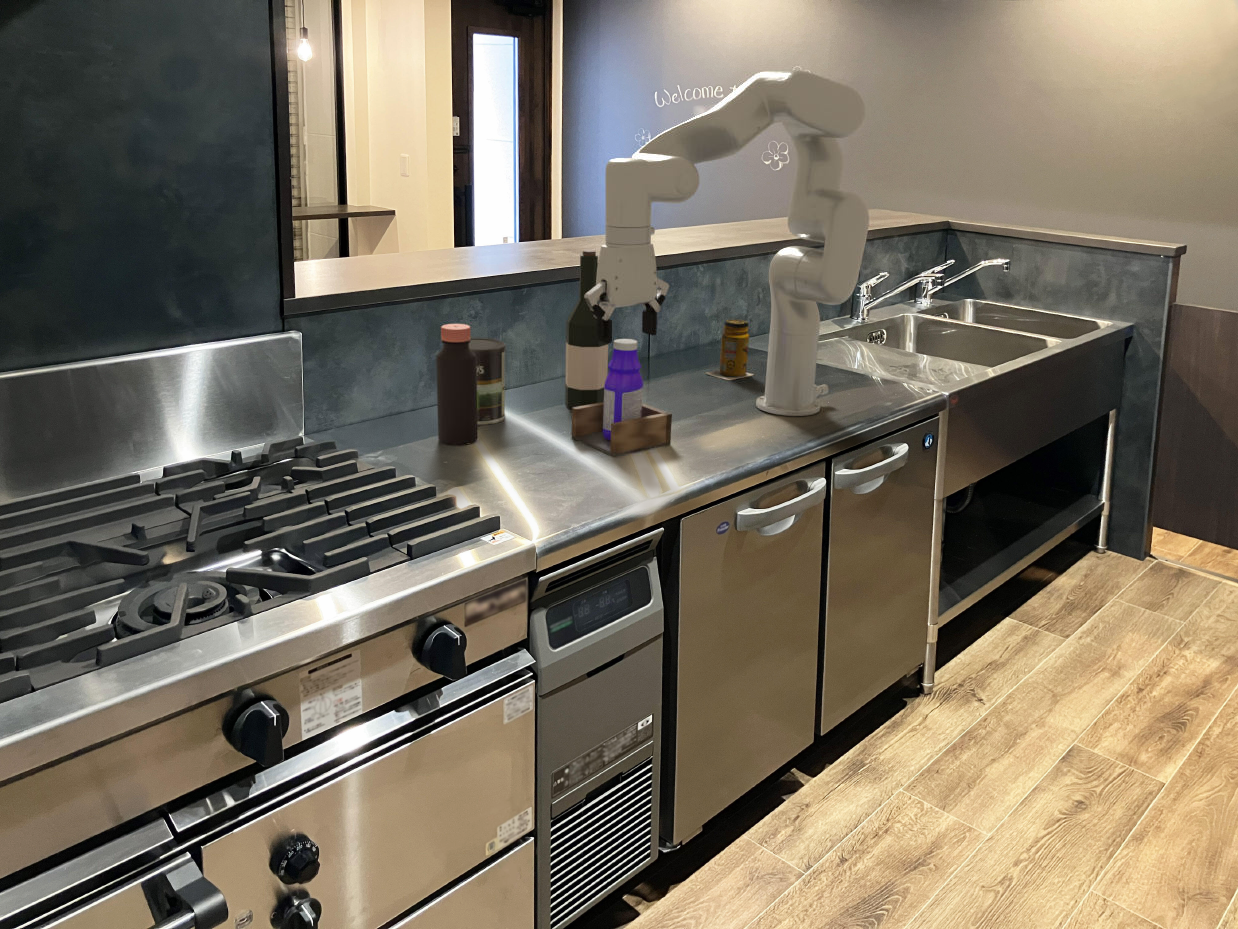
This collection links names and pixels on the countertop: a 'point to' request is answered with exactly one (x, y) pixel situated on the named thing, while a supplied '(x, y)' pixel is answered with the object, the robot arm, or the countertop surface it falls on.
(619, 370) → the bottle
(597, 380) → the wine bottle
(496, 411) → the coffee can
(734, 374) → the condiment
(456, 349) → the vinegar
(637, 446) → the u rest
